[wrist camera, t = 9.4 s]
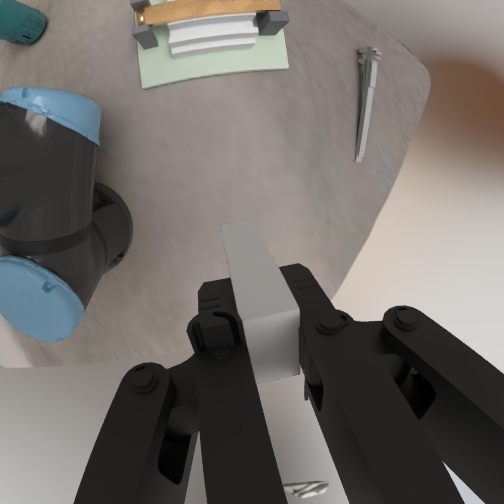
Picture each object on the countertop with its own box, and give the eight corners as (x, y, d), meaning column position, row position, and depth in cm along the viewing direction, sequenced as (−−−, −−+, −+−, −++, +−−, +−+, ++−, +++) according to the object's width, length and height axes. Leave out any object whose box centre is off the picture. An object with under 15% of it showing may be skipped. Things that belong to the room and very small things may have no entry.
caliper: (355, 49, 35) (376, 43, 29) (361, 50, 35) (381, 44, 29) (353, 162, 44) (373, 169, 38) (359, 162, 44) (379, 169, 38)
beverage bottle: (44, 8, 21) (-19, -24, 3) (56, 27, 24) (-13, -4, 6) (18, 34, 21) (-52, 17, 4) (28, 55, 24) (-47, 40, 7)
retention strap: (141, 35, 26) (135, 27, 22) (140, 18, 24) (134, 9, 21) (274, 18, 27) (281, 9, 24) (271, 1, 26) (277, -9, 23)
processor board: (144, 89, 33) (128, 81, 25) (135, -6, 25) (122, -32, 16) (285, 69, 35) (308, 57, 27) (270, -23, 27) (286, -49, 18)
